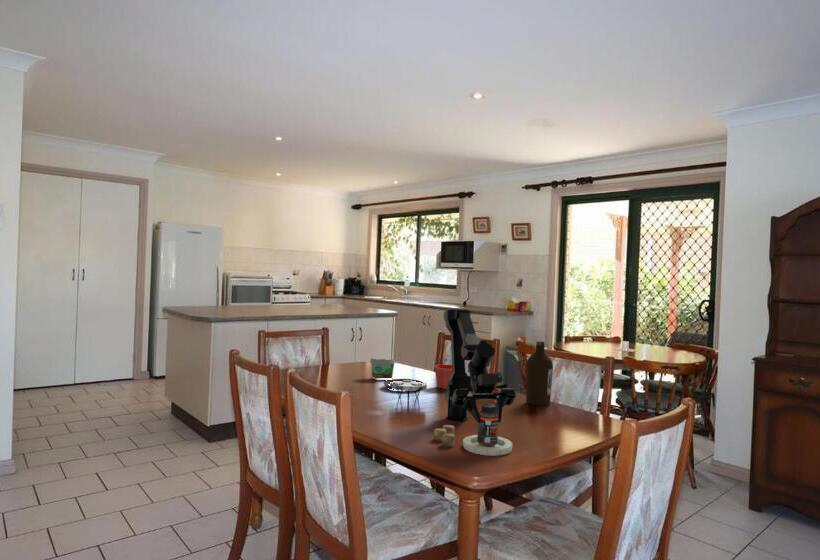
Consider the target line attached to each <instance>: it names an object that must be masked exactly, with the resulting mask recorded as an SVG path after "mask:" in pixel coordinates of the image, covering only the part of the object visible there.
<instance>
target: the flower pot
mask: <svg viewBox="0 0 820 560" xmlns="http://www.w3.org/2000/svg"><path fill="white" fill-rule="evenodd" d="M434 368H435V369H434V370H435V371H434V372H435V377H436V383H437V388H438V387H439V388H438V389H440V388H443V389H442V390H444V389H446V388H447V386H448V381H449V379H450V377H451V375H452V364H435V366H434Z"/></svg>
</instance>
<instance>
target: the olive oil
mask: <svg viewBox="0 0 820 560" xmlns="http://www.w3.org/2000/svg"><path fill="white" fill-rule="evenodd" d="M535 343H536V344H535V351H534V352H533V353H532V354H531V355H530V356H529V357H528V358H527V360H526V363H525V373H526V374H525V377H526V381H525V382H526V383H525V385H526V386H525V387H526V388H525V390H526V392H525V393H526V396H525V397H526V398H525V402H526V403H527V404H528V405H530V406H536V407H547V406H550V405H551V399H552V397H551V396H552V384H553V374H554V373H553V372H554V364H553V360H552V359H551V357H550V356H549V355H548V354H547V353H546V352H545V346H546V345H545V341H541V340H539V341H538V340H537V341H536V342H535Z"/></svg>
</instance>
